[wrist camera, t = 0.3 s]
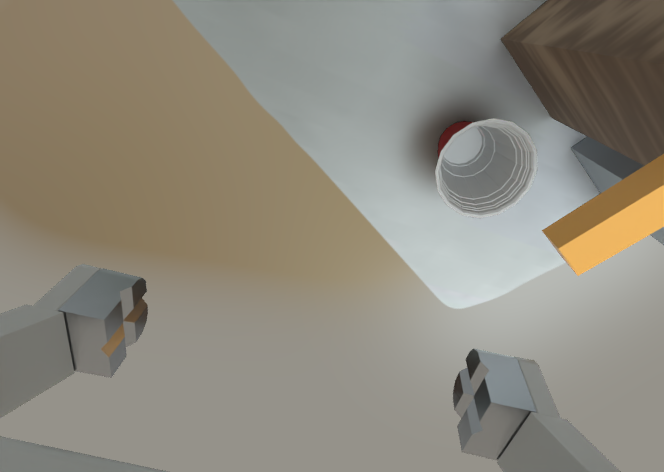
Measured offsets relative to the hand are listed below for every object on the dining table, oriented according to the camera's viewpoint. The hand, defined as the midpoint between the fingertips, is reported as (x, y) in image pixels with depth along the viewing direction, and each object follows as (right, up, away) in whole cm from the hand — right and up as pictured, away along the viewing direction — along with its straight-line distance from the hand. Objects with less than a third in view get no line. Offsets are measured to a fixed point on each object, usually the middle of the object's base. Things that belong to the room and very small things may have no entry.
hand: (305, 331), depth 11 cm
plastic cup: (+18, +15, +45) cm, 51 cm away
